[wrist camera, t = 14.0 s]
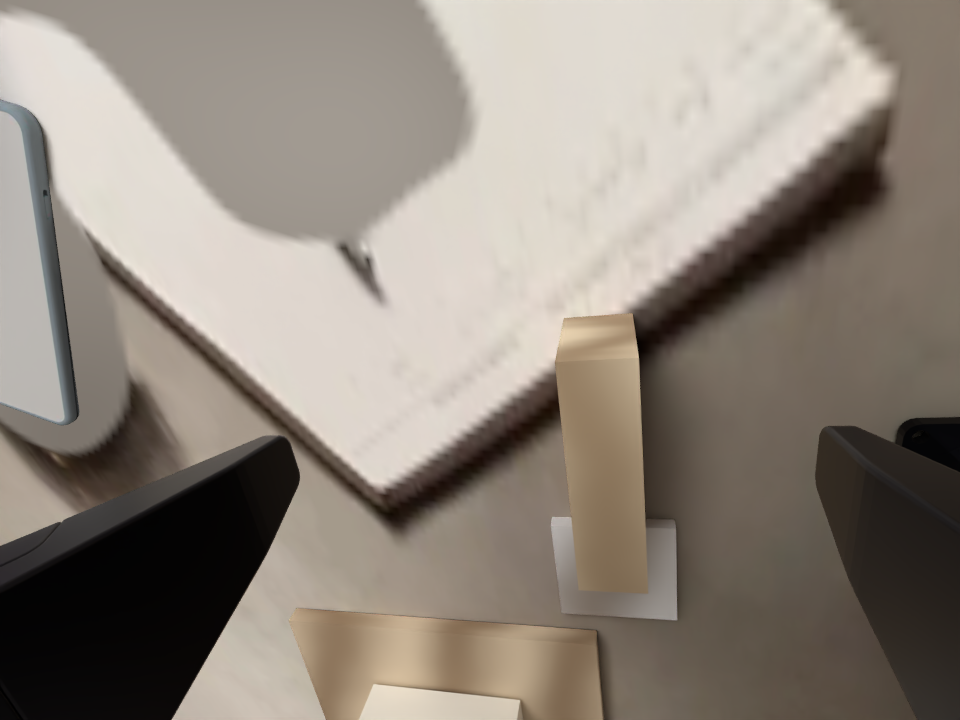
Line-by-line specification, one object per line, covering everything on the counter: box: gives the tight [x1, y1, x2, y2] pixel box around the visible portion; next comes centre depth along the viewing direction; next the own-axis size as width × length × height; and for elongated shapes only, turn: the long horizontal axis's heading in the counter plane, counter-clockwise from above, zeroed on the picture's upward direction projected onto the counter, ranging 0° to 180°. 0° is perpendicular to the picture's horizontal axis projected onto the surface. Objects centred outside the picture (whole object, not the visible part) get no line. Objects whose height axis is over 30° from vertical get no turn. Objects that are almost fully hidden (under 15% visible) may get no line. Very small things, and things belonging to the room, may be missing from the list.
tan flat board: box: [289, 608, 604, 720], centre depth 30 cm, size 16×14×1 cm
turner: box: [551, 313, 677, 620], centre depth 20 cm, size 5×14×4 cm, turn 8°
